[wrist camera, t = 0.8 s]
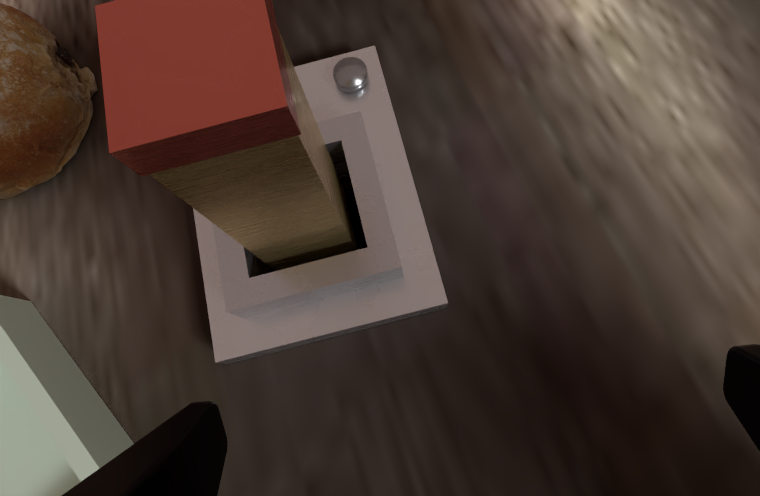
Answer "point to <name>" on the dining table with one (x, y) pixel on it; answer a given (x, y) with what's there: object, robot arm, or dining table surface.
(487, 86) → the dining table surface
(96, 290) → the dining table surface
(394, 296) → the bracket
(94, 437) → the tray
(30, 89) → the bread roll
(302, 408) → the dining table surface
